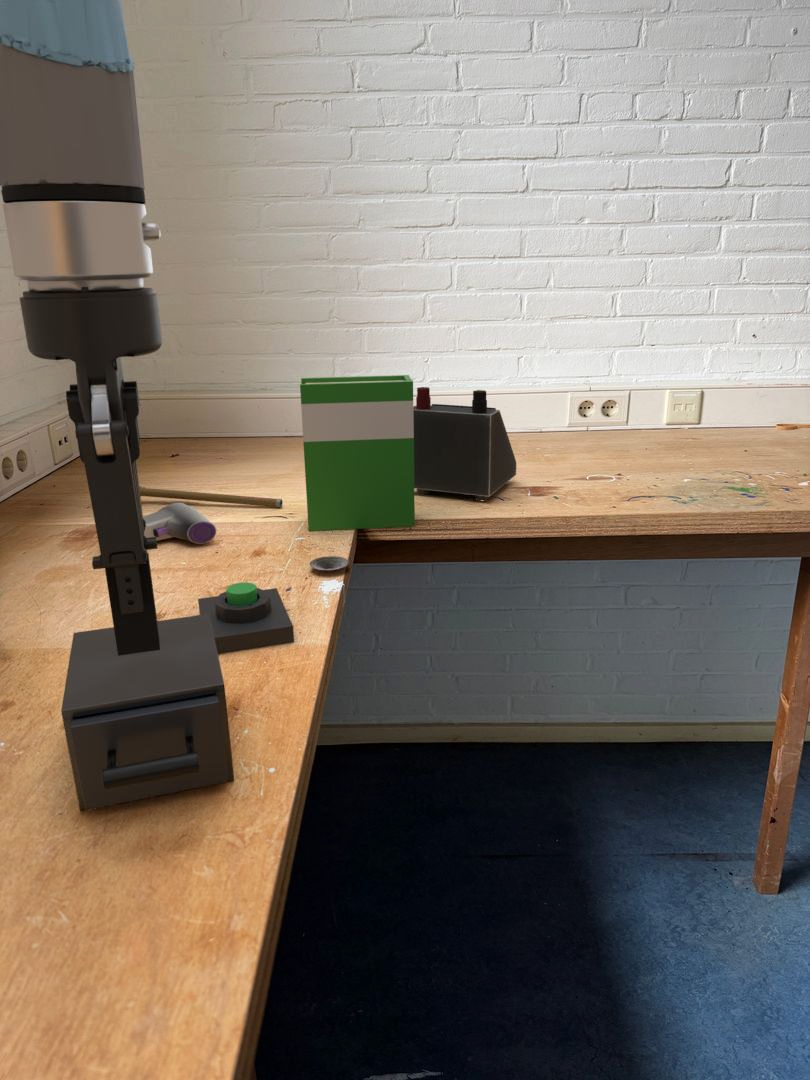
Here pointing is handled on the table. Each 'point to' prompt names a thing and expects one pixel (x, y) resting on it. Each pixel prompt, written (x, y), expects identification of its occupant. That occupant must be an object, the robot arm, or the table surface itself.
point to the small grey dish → (329, 563)
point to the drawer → (149, 750)
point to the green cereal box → (358, 451)
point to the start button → (241, 593)
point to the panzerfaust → (210, 497)
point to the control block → (248, 622)
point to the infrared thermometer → (179, 524)
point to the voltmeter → (460, 447)
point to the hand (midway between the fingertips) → (139, 647)
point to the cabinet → (143, 677)
